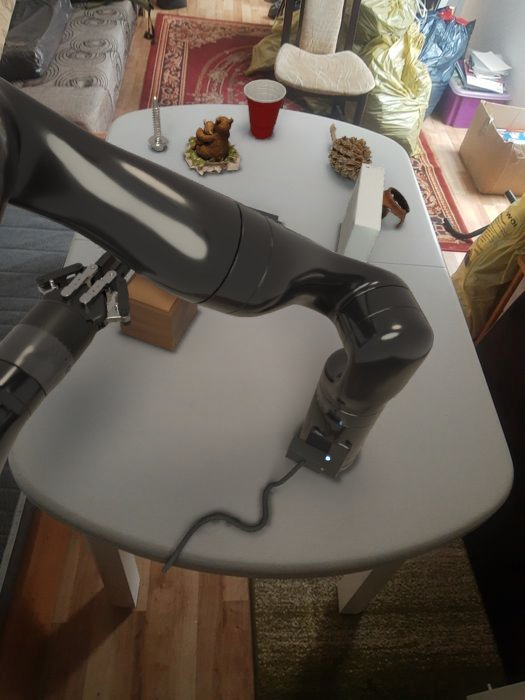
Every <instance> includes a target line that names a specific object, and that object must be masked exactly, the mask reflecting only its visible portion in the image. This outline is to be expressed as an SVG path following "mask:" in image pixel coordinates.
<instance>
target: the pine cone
mask: <svg viewBox="0 0 525 700" xmlns="http://www.w3.org/2000/svg"><path fill="white" fill-rule="evenodd" d="M336 131H337V127H336V126H335V123H334V122H333V123H332V124H331V125H330V126H329V133H330V138H331V141H332V142H331V144H332V146H331V148H330V150H329V151H327V153H328V154H329V155H328V156H327V158H329V159H330V166H331V168H335V172H337V173H338V175H340V174H341V176H342V177H343V178H346V179H347V178H349V180H351V181H353V180H354V181H357V178H358V175H359V172H360V169H361V166H362V163H365V164H369V165H371V164H372V163H373V161H372V160H371V159H372V158H373V156H372V153H373V151H372V150H371V149H370V148H371V147H370V146H368V145H367V141H365V139H364V138H360V139H358V137H355V136H351V137H347V135H344V136H341V137H339V138H337V136H336Z"/></svg>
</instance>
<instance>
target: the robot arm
mask: <svg viewBox="0 0 525 700" xmlns="http://www.w3.org/2000/svg"><path fill="white" fill-rule="evenodd" d="M7 207H12V208H15V209H17V210H21V211H23V212H26V213H29V214H32V215H35V216H38V217H41V218H44V219H46V220H48V221H51V222H53V223H56V224H58V225H61V226H63V227H65V228H67V229H69V230H72V231H74V232H75V233H77V234H79V235H81V236H83V237H84V238H85V239H87V240H89V241H90V242H92V243H94V244H95V245H96V246H98V247H99V248H101V249H102V250H103V251H104V253H103V254H101V256H100V257H99V258H98V259H97V260H96V261H95V262H94V263H91V264H89V265H88V266H86V265H83V263H81V262H75V263H73V264H70V265H68V266H65V267H62V268H59V269H57V270H54V271H50V272H48V273H45V274H43V275H40V276H37V277H36V278H35V282H36V286H37V289H38V291H39V293H40V295H41V296H42V298H41V299H42V300H39V301H37V303H35V304H34V306H33V307H31V309H30V310H29V311H28V312H27V313H26V314H25V315H24V316H23V317H22V319H20V321H19V322H18V323H17V324H16V325H15V326H14V327H13V328H12V329H11V330H10V331H9V332H8V333H7V334H6V336H5V337H4V338H3V339H2V340H1V341H0V476H1V474H2V471H3V470H4V466H5V464H6V462H7V460H8V457H9V454H10V452H11V451H12V448H13V446H14V445H15V443H16V441H17V438H18V437H19V435H20V433H21V431H22V429H23V428H24V427H25V425H26V423H27V422H29V420H30V418H31V417H32V416H33V414H34V413H35V412H36V410H38V408H39V407H40V405H41V404H42V403H43V402H44V400H46V398H47V397H48V396H49V395H50V394H51V393H52V392H53V391H54V390H55V389H56V388H57V387H58V386H59V385H60V383H62V381H63V380H64V379H65V377H66V376H67V375H68V374H69V373H70V372H71V371H72V368H73V367H74V365H75V364H77V362H78V361H79V359H80V358H81V357H82V355H83V354H84V353H85V351H86V350H87V349H88V347H89V346H90V345H91V344H92V343H93V340H94V338H95V337H96V335H97V333H98V332H99V331H101V330H103V329H106V327H108V325H109V324H110V323H120V322H121V324H122V325H124V326H128V325H130V324H131V314H130V303H129V293H128V287H127V281H128V280H127V279H126V277H127V275H128V274H129V273H130V272H131V271H132V272H133V273H134V272H136V273H137V274H139V275H140V276H142V277H143V278H144V279H146V280H147V281H149V282H150V283H152V284H153V285H155V286H157V287H158V288H160V289H162V290H163V291H165V292H167V293H169V294H171V295H173V296H175V297H178V298H180V299H183V300H185V301H188V302H190V303H194V304H197V306H200V307H203V308H206V309H209V310H212V311H215V312H219V313H222V314H224V315H228V316H232V317H236V318H256V317H262V316H266V315H268V314H271V313H274V312H278V311H280V310H283V309H285V308H288V307H290V306H294V305H295V306H300V307H304V308H307V309H310V310H311V311H315V312H317V313H319V314H320V315H322V316H324V317H326V318H327V319H328V320H330V322H331V323H332V324H333V325H334V327H335V329H336V331H337V334H338V337H339V339H340V342H341V344H342V347H341V348H338V349H336V350H335V351H333V352H332V353H331V354H330V355H328V357H327V359H326V360H325V362H324V364H323V367H322V370H321V373H320V376H319V378H318V381H317V384H316V386H315V390H314V393H313V395H312V398H311V401H310V404H309V406H308V410H307V412H306V415H305V418H304V421H303V424H302V426H301V429H300V431H299V434H298V436H297V435H294V436H293V438H292V439H291V442H290V444H289V446H288V447H287V451H286V454H285V458H287V459H288V460H290V461H292V462H295V463H296V464H295V466H293V467H292V469H291V470H290V471H289V472H287V473H286V474H285V475H284V476H283V477H282V478H280V479H279V480H276V481H272V482H271V483H269V484H267V486H266V487H265V489H264V491H263V493H262V519H261V522H259V523H258V524H257V525H253V526H249V525H246V524H244V523H242V522H240V521H238V520H236V519H235V518H233V517H231V516H229V515H227V514H222V513H215V514H214V513H213V514H210V515H207V516H206V517H204V518H202V519H200V520H199V521H198V522H196V523H195V524H194V525H193V526H192V527H190V529H189V530H188V531H187V532H186V534H185V536H184V537H183V538H182V539H181V541H180V542H179V544H178V546H177V547H176V549H175V550H174V552H173V553H172V554H171V556H170V557H169V559H168V560H167V562H166V563H165V564H164V566H163V567H162V568H161V573H162V574H165V573H167V572H168V571H169V569H170V568H171V567H172V566H173V564H174V563H175V561H176V560H177V559H178V557H179V556H180V554H181V552H182V551H183V549H184V548H185V546H186V545H187V543H188V542H189V540H190V539H191V537H192V536H193V535H194V534H195V532H196V531H197V530H199V528H201V527H202V526H203V525H205V524H207V523H209V522H211V521H214V520H221V521H225V522H227V523H229V524H231V525H233V526H234V527H236V528H238V529H239V530H240V529H241V530H242V531H245V532H249V533H254V532H258V531H261V530H262V529H263V528H264V527H266V525H267V524H268V519H269V505H268V497H269V493H270V492H271V490H272V489H273V488H276V487H280V486H282V485H283V484H285V483H286V482H287V481H288V480H290V479H291V478H292V477H293V476H294V475H296V473H297V472H298V471H299V470H300V469H302V467H305V468H306V469H309V470H311V471H313V472H315V473H317V474H320V473H321V472H322V473H324V474H326V475H328V476H330V477H332V478H337V476H338V475H339V473H340V472H343V471H345V470H347V469H348V468H350V467H351V465H352V464H353V463H354V461H355V460H356V458H357V456H358V454H359V452H360V450H361V448H363V446H364V444H365V441H366V440H367V438H368V436H369V435H370V433H371V432H372V429H373V428H374V426H375V425H376V423H377V421H378V420H379V418H380V416H381V415H382V413H383V411H384V410H385V408H386V406H387V405H388V403H389V402H390V401H391V400H392V399H394V398H395V397H396V396H398V395H400V393H401V392H402V391H403V390H404V389H405V387H406V386H407V385H408V384H409V382H410V381H411V380H412V378H413V376H414V375H415V374H416V372H417V371H418V370H419V369H420V367H421V366H422V365H423V363H424V362H425V360H426V359H427V358H428V357H429V354H430V352H431V350H432V349H433V345H434V341H435V333H434V330H433V328H432V326H431V325H430V322H429V320H428V319H427V317H426V315H425V313H424V311H423V310H422V308H421V306H420V304H419V302H418V301H417V299H416V297H415V295H414V293H413V291H412V290H411V288H410V287H409V286H408V284H407V283H406V282H405V281H404V280H403V279H402V278H401V277H400V276H399V275H397V274H396V273H394V272H392V271H390V270H387V269H385V268H382V267H381V266H377V265H374V264H371V263H368V262H367V263H365V262H362V261H359V260H356V259H353V258H350V257H347V256H345V255H342V254H339V253H337V251H334V250H332V249H330V248H327V247H326V246H324V245H322V244H320V243H318V242H316V241H315V240H313V239H310V238H309V237H306V236H305V235H303V234H301V233H299V232H296V231H295V230H293V229H291V228H289V227H286V226H285V225H283V224H279V223H277V222H275V221H274V220H272V219H270V218H269V217H267V216H265V215H263V214H261V213H259V212H257V211H256V210H254V209H252V208H253V207H251V206H248V205H246V204H243V203H242V202H239V201H238V200H236V199H233V198H232V197H230V196H227V195H226V194H223V193H220V192H219V191H216V190H214V189H212V188H210V187H208V186H205V185H204V184H201V183H199V182H197V181H195V180H193V179H191V178H188V177H187V176H185V175H182V174H180V173H178V172H177V171H174V170H173V169H172V170H171V169H169V167H165V166H163V165H162V164H158V163H157V162H154V161H152V160H150V159H147V158H146V157H143V156H141V155H138V154H136V153H133V152H131V151H129V150H126V149H124V148H121V147H119V146H118V145H115V144H113V143H111V142H109V141H107V140H105V139H103V138H101V137H99V136H98V135H95V133H92V132H90V131H89V130H87V129H85V128H84V127H82V126H80V125H78V124H77V123H75V122H73V121H72V120H71V119H69V118H67V117H65V116H64V115H62V114H61V113H59V112H57V111H56V110H54V109H52V108H51V107H50V106H48V105H46V104H44V103H43V102H41V101H39V100H38V99H37V98H34V96H32V95H30V94H29V93H26V92H25V91H24V90H22V89H20V88H19V87H17V86H16V85H15V84H13V83H11V82H9V81H8V80H6V79H5V78H3V77H1V76H0V227H2V223H3V219H4V216H5V213H6V210H7ZM250 207H251V208H250ZM73 275H74V276H73ZM69 276H71V277H69ZM116 293H117V294H118V303H116V302H114V305H113V306H112V307H111V310H110V311H109V310H108V305H109V304H110V303H111V301H112V298H113V296H114V295H115V294H116Z"/></svg>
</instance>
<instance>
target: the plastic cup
mask: <svg viewBox="0 0 525 700" xmlns="http://www.w3.org/2000/svg"><path fill="white" fill-rule="evenodd" d="M243 93H244V95H245V97H246V101H247V109H248V119H249V127H250V128H249V129H250V130H249V131H250V134H251V136H252V137H253V138H255V139H259V140H268V139H270V138H271V137H272V135H273V133H274V129H275V126H276V124H277V120H278V117H279V114H280V110H281V106H282V103H283V100H284V97H286V94H287V89H286V87H285V86H284V85H283V84H282V83H280V82H278V81H276V80H272V79H256V80H251V81H250V82H247V83H246V84H245V86H244V87H243Z"/></svg>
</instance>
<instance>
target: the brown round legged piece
mask: <svg viewBox="0 0 525 700" xmlns="http://www.w3.org/2000/svg"><path fill="white" fill-rule="evenodd" d="M410 209H411V208H410V205H409V203H408V201H407V199H406V198H405V196H404V195H403V194H402V193H401V192H400V191H399V190H398V189H397V188H395V187H392V186H391V187H388V189H384V190H383V202H382V215H381V221H382V220H384V218H386V217H387V216H388V214H389V212H390V213H391V214H392V215H394V216H395V217H398V218H399V219H400V221H399V222H398V223H397V225H396V228H400V227H401V226H402V224H403V223H404V222H405V219H406V216H407V215H408V214H409V213H410V212H411V210H410Z"/></svg>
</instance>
